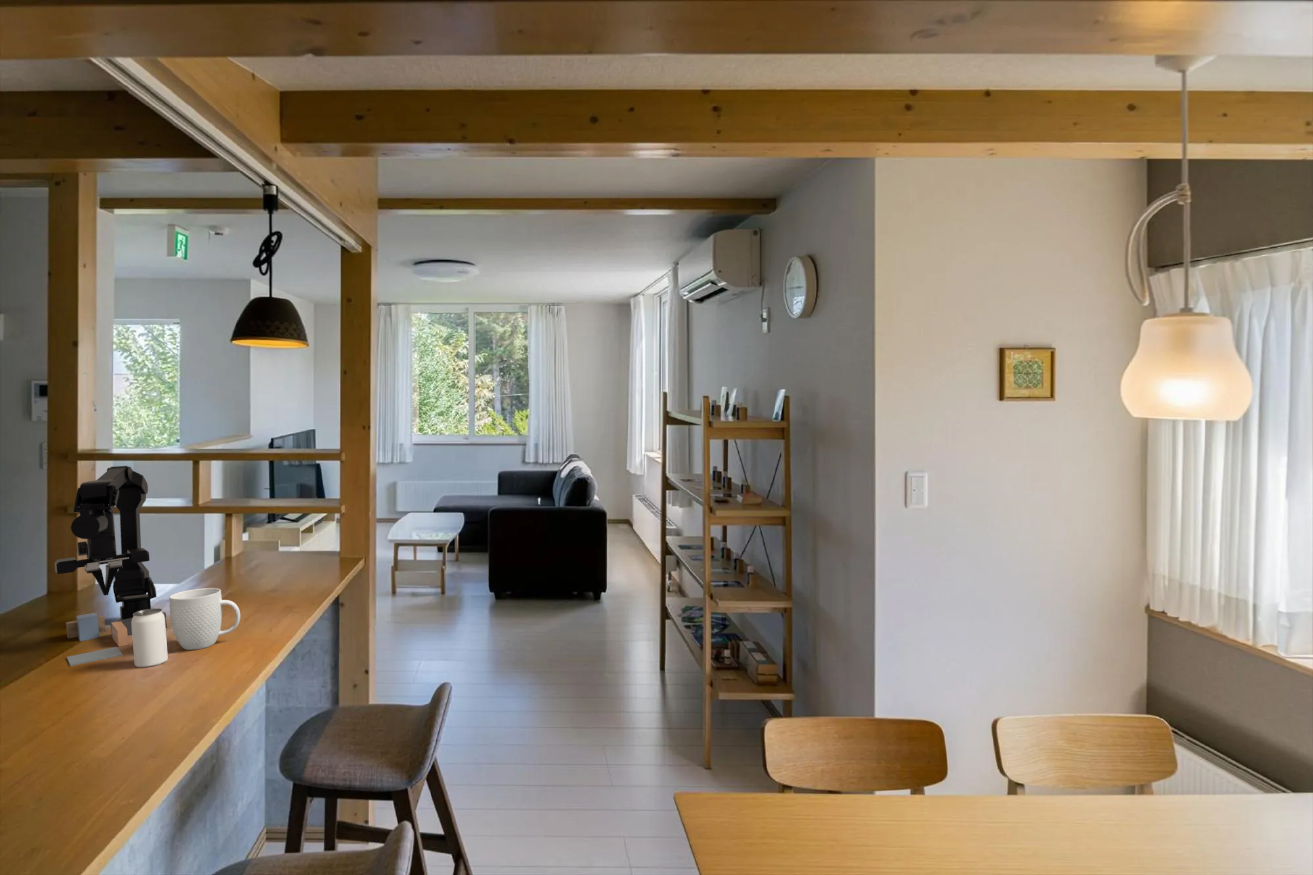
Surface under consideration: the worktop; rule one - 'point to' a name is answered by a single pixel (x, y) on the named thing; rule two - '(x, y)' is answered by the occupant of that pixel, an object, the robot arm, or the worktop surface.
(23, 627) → the worktop surface
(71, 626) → the back block
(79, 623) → the plug
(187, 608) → the mug
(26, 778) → the worktop surface
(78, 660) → the pad
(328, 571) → the worktop surface
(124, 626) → the grey tan flat block
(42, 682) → the worktop surface
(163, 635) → the can
